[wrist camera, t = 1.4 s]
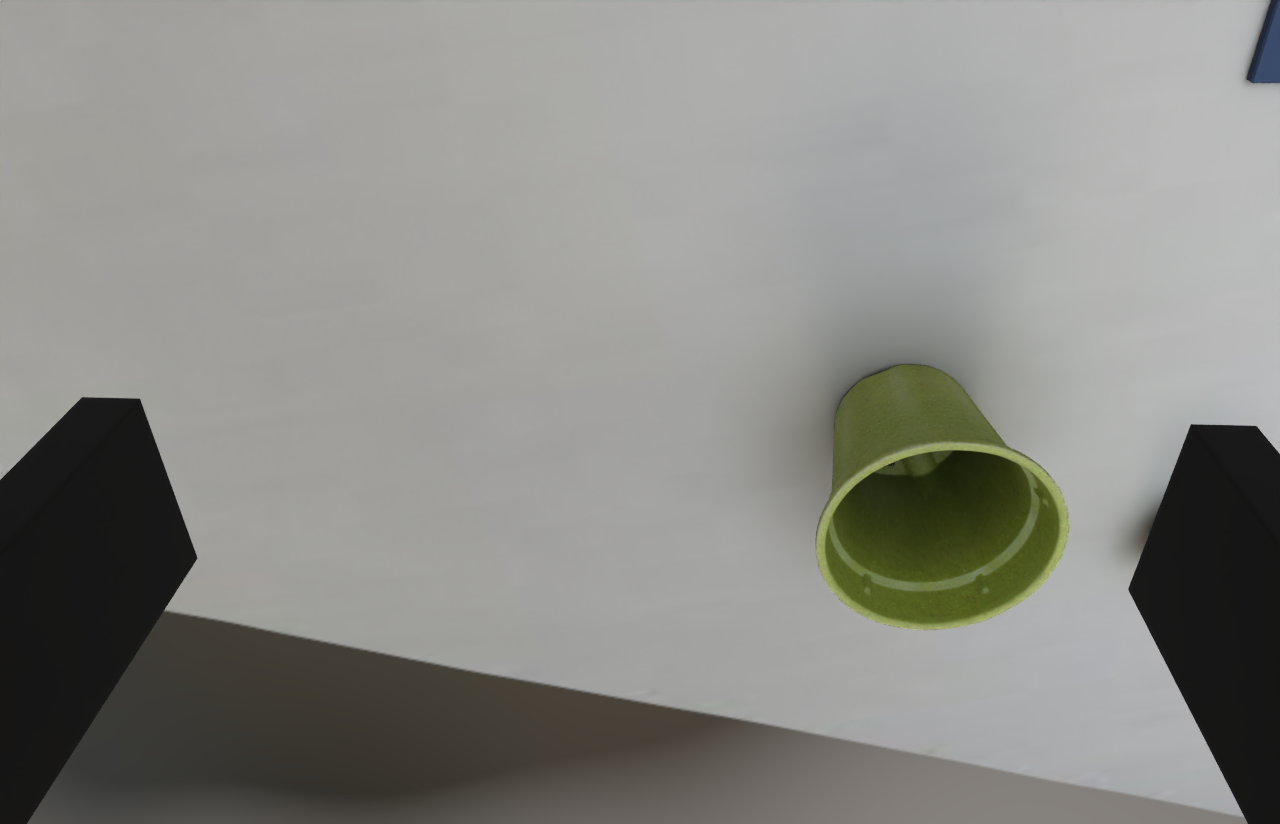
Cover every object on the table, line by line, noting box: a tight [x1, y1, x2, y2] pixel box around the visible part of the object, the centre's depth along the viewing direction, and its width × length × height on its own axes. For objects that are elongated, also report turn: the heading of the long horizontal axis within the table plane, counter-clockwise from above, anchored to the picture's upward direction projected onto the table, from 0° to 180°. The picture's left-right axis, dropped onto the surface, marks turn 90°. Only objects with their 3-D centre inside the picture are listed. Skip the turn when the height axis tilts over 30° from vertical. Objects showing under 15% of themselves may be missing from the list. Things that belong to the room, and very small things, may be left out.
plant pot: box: [816, 365, 1069, 630], centre depth 40 cm, size 9×9×9 cm
